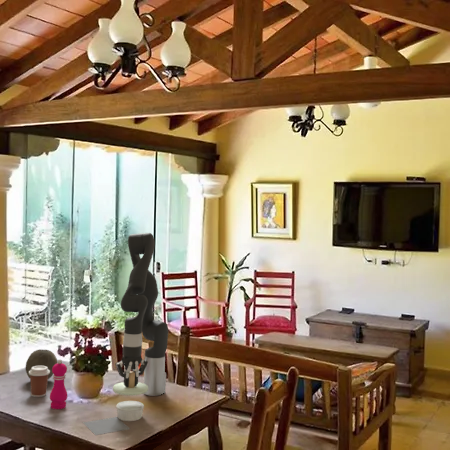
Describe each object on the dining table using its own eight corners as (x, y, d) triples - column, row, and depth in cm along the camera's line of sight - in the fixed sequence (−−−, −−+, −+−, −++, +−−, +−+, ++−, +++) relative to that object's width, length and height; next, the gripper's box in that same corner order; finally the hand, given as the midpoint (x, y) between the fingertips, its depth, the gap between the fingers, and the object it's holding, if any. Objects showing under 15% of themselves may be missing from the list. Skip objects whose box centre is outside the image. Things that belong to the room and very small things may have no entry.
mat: (116, 417, 244) (116, 416, 244) (130, 429, 232) (130, 428, 232) (82, 423, 236) (82, 422, 236) (95, 436, 225) (95, 435, 225)
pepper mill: (62, 410, 249) (63, 362, 248) (46, 408, 251) (47, 361, 250) (70, 405, 256) (71, 358, 255) (54, 403, 258) (56, 356, 257)
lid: (139, 383, 254) (140, 366, 254) (153, 392, 242) (154, 375, 242) (107, 386, 247) (108, 369, 246) (120, 397, 235) (121, 378, 235)
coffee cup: (51, 391, 273) (52, 365, 272) (46, 398, 263) (47, 371, 263) (31, 390, 272) (32, 364, 272) (25, 397, 263) (26, 370, 263)
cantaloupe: (51, 386, 279) (52, 354, 278) (20, 385, 279) (21, 353, 279) (60, 377, 293) (61, 347, 293) (31, 376, 293) (32, 345, 293)
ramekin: (131, 425, 237) (131, 412, 237) (109, 418, 243) (110, 405, 243) (149, 417, 247) (149, 404, 246) (128, 411, 253) (128, 398, 252)
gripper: (144, 340, 251) (142, 381, 251) (112, 343, 243) (110, 385, 244) (152, 344, 244) (150, 386, 245) (119, 347, 237) (117, 391, 238)
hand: (130, 385), depth 244 cm, fingers closed on lid, 3 cm apart
